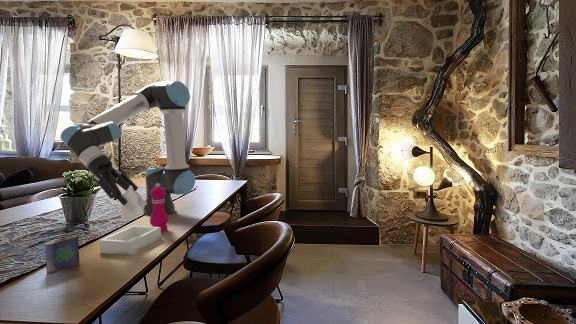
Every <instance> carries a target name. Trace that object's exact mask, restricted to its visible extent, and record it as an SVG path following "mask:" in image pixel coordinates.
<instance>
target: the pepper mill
mask: <svg viewBox="0 0 576 324" xmlns="http://www.w3.org/2000/svg"><path fill="white" fill-rule="evenodd" d="M150 195H151V197H152V198H153V199H152V203H153V212H152V215H150V218H149V224H150V225H151V227H161V234H162V233H165V232H167V231H168V225H167V224H168V223H169V215H168V214H166V212H165V209H164V202H165V199H164V197H165V195H166V191H165V189H164V188H162V187H160V184H159V183H157V184H156V187H155V188H153V189H152V190H151V192H150Z"/></svg>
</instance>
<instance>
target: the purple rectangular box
mask: <svg viewBox="0 0 576 324" xmlns="http://www.w3.org/2000/svg"><path fill="white" fill-rule="evenodd" d="M79 247H80V245H79V236H78V235H67V236H65V235H64V233H62V232H60V233H58V236H57V239H55V240H52V241H48V242H46V243H45V244H44V250H45V262H46V263H45V264H46V266H45V267H46V273H47V274H49V275H51V274H53V273H57V272H60V271H63V270H66V269H68V268H72V267H74V266H77V265H79V264H80V249H79Z"/></svg>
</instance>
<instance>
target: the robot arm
mask: <svg viewBox="0 0 576 324" xmlns="http://www.w3.org/2000/svg"><path fill="white" fill-rule="evenodd" d="M190 99H191V93H190V91H189V89H188V86H186V85H185V84H184V83H183V82H182V81H179V80H167V81H158V82H153V83H151V84H149V85H145V87H142V88H141V89H139V90H136V91H135V92H134V93H132V96H131V97H128V98H127V99H125V100H123V101H121V102H120V103H118V104H116V105H114V106H112V107H111V108H109V109H107V110H104V111H103V112H102V113H100V114H98V115H96V116H94V117H92V118H90V119H88V120H86V121H85V122H82V123H81V124H79V123H78V124H74V125H70V126H68V127H66V128H64V130H62V131H61V134H60V139H61V140H62V142H63V143H64V144H65V146H66V147H67V148H68V149H69V150H70V151H71V152H72V154H74V156H75V157H77V159H79V160H80V162H81V163H82V164H83V165H84V167H86V168H87V170H88V171H89V172H90V173H91V174H92V175H93V178H92V180H93V181H94V182H95V183H96V184H98V186H99V187H100V188H101V189H102V190H103V192H104V193H106V195H107V196H108V197H109V198H110V199H112V200H113V201H117V200H118V202H119V203H120V205H121V204H123V205H124V206H125V207H126V208H127V210H128V211H129V212H130V213H131V212H133V210H134V209H135V208H136V206H135V205H134V204H133V203H132V202H131V201H130V200H129V198H128V197H127V196H126V195H125V193H123V194H122V192H121V190H120V188H122V189H123V190H124V191H125V192H126V191H127V189H128V188H129V187H130V185H131V186H132V187H133V191H134V192H135V193H136V195H137V196H138V207H139V208H140V209H142V210H143V214H144V215H148V216H151V215H152V212H153V203H152V199H153V198H152V197H151V195H150V192H151V190H152V189H153V188H155V187H156V184H157V183H159V184H160V187H162V188H164V189H165V191H166V195H165V197H164V199H165V202H164V209H165V212H166V214H167V215H168V214H172V213H174V212H175V211H176V205H175V203H174V200H173V197H172V195H178V196H180V195H182V196H183V195H188V194H189V193H190V192H192V190H193V189H194V187H195V185H196V176H195V174H194V173H193V171H191V170H190V165H189V164H188V163H187V161H186V145H185V133H184V131H185V130H184V118H183V117H184V116H183V113H184V112H186V106H187V105H188V104H189V102H190ZM153 108H159V111H160V112H161V113H162V114H163V122H164V123H163V124H164V136H165V137H164V139H165V149H166V150H165V152H166V162H167V163H166V165H165V166H159V167H153V168H152V167H151V168H147V169H146V171H145V190H146V198H145V199H144V198H143V197H142V196H141V194H140V193H139V192H137V190H138V189H139V187H138V185H136V183H134V182H133V181H132V179H130V177H129V176H128V175H127V174H126V173H125V172H124V170H123V169H119V170H117V169H116V168H114V167H113V161H112V160H111V159H110V158H109V157H108V156H107V155H106V153H104V151H102V150H101V149H100V146H104V145H106V144H110V143H113V142H114V141H117V140H119V139H120V137H121V136H122V135H121V134H122V132H121V129H120V127H119V126H120V125H121V124H123V123H124V122H125V121H128V120H129V119H131V118H132V117H134V116H136V115H138V114H139V113H141V112H146V111H149V110H150V109H153ZM118 186H119V187H120V188H119V187H118Z"/></svg>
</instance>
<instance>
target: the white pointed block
mask: <svg viewBox="0 0 576 324" xmlns="http://www.w3.org/2000/svg"><path fill="white" fill-rule="evenodd" d="M124 194H125V195H126V196H127V197H128V198H129V200H130V201H131V202H132V203H133V204H134V205H135V206H136V208H135V209H134V210H133V212H131V213H130V212H129V211H128V210H127V208H126V207H125V206H124V205H123V204H121V203H120V205H121V219H122V220H124V221H131V220H132V221H133V220H135V219H138V217H139V205H138V196H137V195H136V193H135V192H134V191H133V187H132V186H131V185H130V187H129V188H128V189H127V191H126V190H125V192H124Z"/></svg>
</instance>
